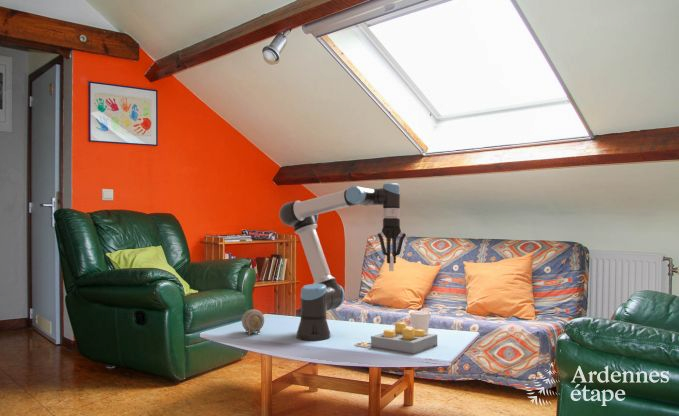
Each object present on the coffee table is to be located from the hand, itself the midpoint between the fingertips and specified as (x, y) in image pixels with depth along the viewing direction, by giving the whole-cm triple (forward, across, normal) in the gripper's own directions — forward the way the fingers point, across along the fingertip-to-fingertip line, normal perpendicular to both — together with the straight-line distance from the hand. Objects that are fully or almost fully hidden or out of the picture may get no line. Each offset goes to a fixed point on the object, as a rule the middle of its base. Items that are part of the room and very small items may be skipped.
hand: (391, 270), depth 232 cm
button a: (+29, -4, -15) cm, 33 cm away
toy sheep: (+31, -61, +22) cm, 72 cm away
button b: (+27, +2, -21) cm, 34 cm away
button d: (+29, +9, -15) cm, 33 cm away
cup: (+30, +14, +3) cm, 34 cm away
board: (+30, +2, -15) cm, 34 cm away
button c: (+27, +2, -8) cm, 28 cm away
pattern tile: (+30, -14, -11) cm, 35 cm away
